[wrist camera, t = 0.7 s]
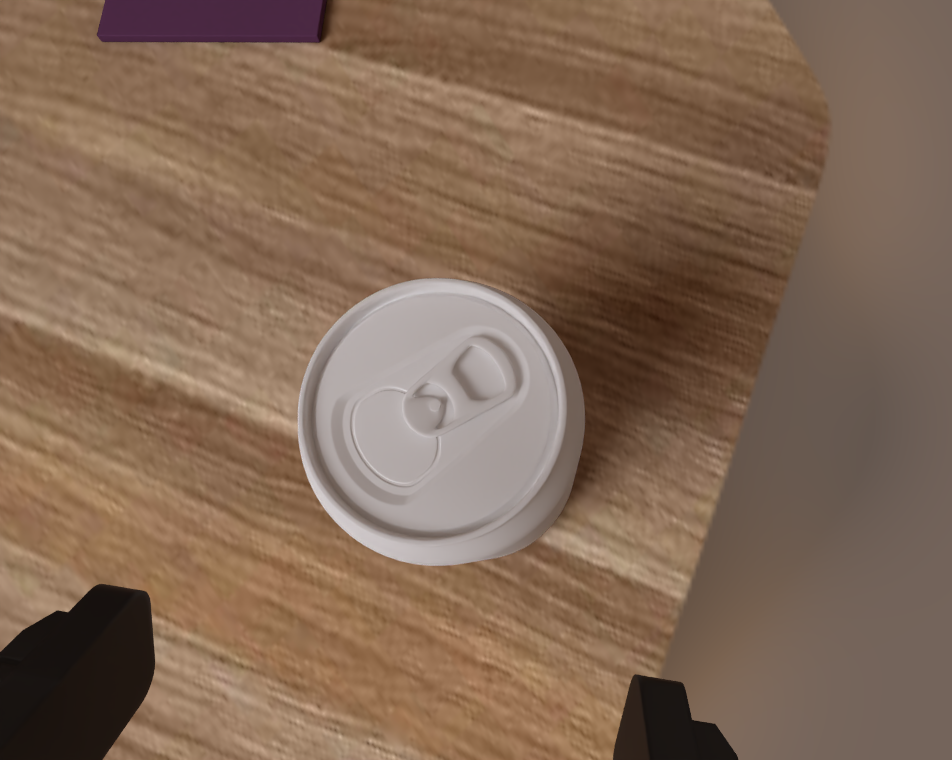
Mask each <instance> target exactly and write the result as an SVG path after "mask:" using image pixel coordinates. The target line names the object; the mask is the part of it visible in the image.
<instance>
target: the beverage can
mask: <svg viewBox="0 0 952 760" xmlns="http://www.w3.org/2000/svg"><path fill="white" fill-rule="evenodd" d="M584 430H585V407H584V398H583V392H582V387H581V383H580V380H579V376H578V373H577V370H576V368H575V365H574V363H573V361H572V358H571V356H570V354H569V353H568V351H567V349H566V347H565V346H564V344H563V342H562V341H561V339H560V338H559V337H558V335H557V334H556V333H555V331H554V330H553V329H552V328H551V327H550V325H549V324H548V323H547V322H546V321H545V320H544V319H543V318H542V317H541V316H540V315H538V314H537V313H536V312H535V311H534V310H533V309H531V308H530V307H529V306H527V305H526V304H524V303H523V302H521V301H520V300H518V299H517V298H515V297H513V296H511V295H509V294H507V293H505V292H503V291H501V290H498V289H496V288H493V287H490V286H487V285H484V284H480V283H476V282H471V281H465V280H457V279H449V278H427V279H418V280H412V281H407V282H403V283H399V284H396V285H393V286H390V287H387V288H385V289H383V290H380V291H378V292H376V293H374V294H372V295H370V296H369V297H367V298H365V299H364V300H362V301H361V302H359V303H358V304H356V305H355V306H354V307H352V308H351V309H350V310H348V311H347V312H346V313H345V314H344V315H343V316H342V317H341V318H340V319H339V320H338V321H337V322H336V323H335V324H334V325H333V326H332V327H331V328H330V330H329V331H328V332H327V333H326V335H325V336H324V337H323V339H322V340H321V342H320V343H319V345H318V347H317V348H316V350H315V352H314V354H313V356H312V358H311V360H310V362H309V365H308V367H307V370H306V372H305V375H304V378H303V382H302V386H301V391H300V396H299V404H298V439H299V447H300V453H301V458H302V462H303V465H304V469H305V472H306V475H307V477H308V480H309V482H310V484H311V487H312V489H313V490H314V492H315V494H316V496H317V498H318V499H319V501H320V502H321V504H322V506H323V507H324V508H325V510H326V511H327V512H328V514H329V515H330V516H331V517H332V518H333V519H334V521H335V522H336V523H337V524H338V525H339V526H340V527H341V528H342V529H343V530H345V531H346V532H347V533H348V534H349V535H351V536H352V537H353V538H354V539H356V540H357V541H359V542H360V543H362V544H363V545H365V546H367V547H368V548H370V549H372V550H374V551H376V552H378V553H380V554H382V555H385V556H387V557H390V558H393V559H396V560H400V561H403V562H408V563H413V564H419V565H430V566H444V565H456V564H463V563H470V562H476V561H482V560H488V559H494V558H499V557H503V556H506V555H509V554H512V553H514V552H517V551H519V550H521V549H523V548H525V547H526V546H528V545H530V544H531V543H533V542H534V541H535V540H537V539H538V538H539V537H541V536H542V535H543V534H544V533H545V532H546V531H547V530H548V529H549V528H550V527H551V526H552V524H553V523H554V522H555V521H556V519H557V518H558V517H559V515H560V513H561V512H562V510H563V508H564V507H565V505H566V502H567V500H568V498H569V495H570V492H571V489H572V486H573V482H574V478H575V474H576V471H577V467H578V463H579V459H580V455H581V450H582V445H583V439H584Z"/></svg>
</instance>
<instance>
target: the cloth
mask: <svg viewBox="0 0 952 760" xmlns="http://www.w3.org/2000/svg"><path fill="white" fill-rule="evenodd" d="M326 2H327V0H105V4H104V8H103V12H102V16H101V20H100V24H99V29H98V33H97V36H98V37H99V39H100V40H101V41H103V42H320V39H321V33H322V26H323V20H324V14H325V8H326Z"/></svg>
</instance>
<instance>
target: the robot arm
mask: <svg viewBox="0 0 952 760" xmlns="http://www.w3.org/2000/svg"><path fill="white" fill-rule="evenodd" d="M154 669H155V654H154V641H153V628H152V615H151V603H150V597H149V595H148V593H147V592H145V591H142V590H136V589H130V588H124V587H118V586H112V585H106V584H99V585H96V586H95V587H93V588H92V589H91V590H90V591H89V592H88V593H87V594H86V595H85V596H84V597H83V598H82V599H81V600H80V601H79V602H78V603H77V604H76V605H75V606H74V607H73V608H72V609H71V610H70V611H69V612H63V611H56V612H54V613H52V614H50V615H49V616H47V617H45V618H43V619H42V620H40V621H38V622H36V623H35V624H33V625H31V626H30V627H28V628H26V629H24V630H23V631H22V632H21V633H20V634H19V635H18V636H16V637H15V638H14V639H13V640H12V641H11V642H10V643H9V644H8V645H7V646H6V647H5V648H4V649H3V650H2V651H1V652H0V760H103V758H104V757H105V755H106V754H107V752H108V751H109V749H110V748H111V747H112V745H113V744H114V742H115V741H116V739H117V738H118V737H119V735H120V734H121V732H122V731H123V729H124V728H125V726H126V725H127V724H128V722H129V721H130V719H131V718H132V716H133V715H134V714H135V712H136V711H137V709H138V708H139V706H140V705H141V703H142V702H143V700H144V698H145V697H146V695H147V692H148V690H149V688H150V685H151V682H152V679H153V675H154ZM613 760H738V757H737V755H736V753H735V752H734V751H733V749H732V748H731V746H730V745H729V743H728V742H727V740H726V739H725V737H724V736H723V734H722V733H721V732H720V730H719V729H718V727H717V726H716V725H715V724H712V723H706V722H700V721H694V720H692V718H691V713H690V708H689V704H688V699H687V695H686V690H685V687H684V685H683V683H681V682H677V681H671V680H665V679H659V678H653V677H647V676H641V675H634V676H633V678H632V680H631V683H630V687H629V691H628V695H627V699H626V703H625V707H624V711H623V715H622V719H621V723H620V727H619V731H618V735H617V739H616V743H615V748H614V755H613Z"/></svg>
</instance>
